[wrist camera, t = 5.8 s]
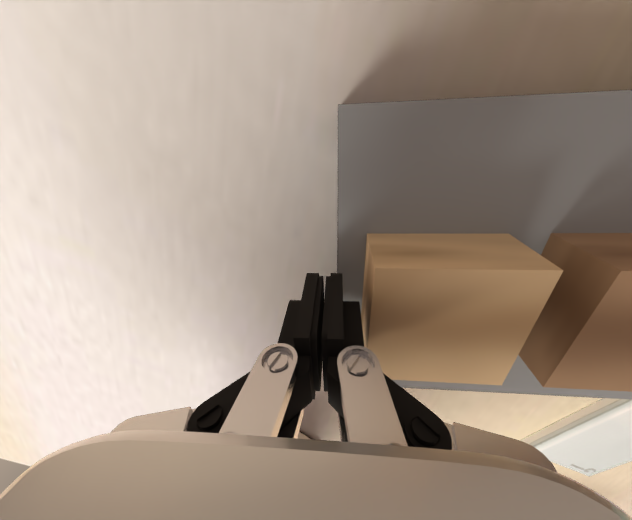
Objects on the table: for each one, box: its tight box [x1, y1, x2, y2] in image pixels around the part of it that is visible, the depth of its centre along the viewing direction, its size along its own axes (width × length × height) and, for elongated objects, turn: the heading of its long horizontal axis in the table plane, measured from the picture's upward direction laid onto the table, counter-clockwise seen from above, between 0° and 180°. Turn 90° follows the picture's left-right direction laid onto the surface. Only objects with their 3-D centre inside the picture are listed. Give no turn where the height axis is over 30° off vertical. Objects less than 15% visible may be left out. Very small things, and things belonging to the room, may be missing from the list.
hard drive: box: [521, 398, 632, 476], centre depth 21 cm, size 2×8×12 cm
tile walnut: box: [518, 233, 632, 392], centre depth 10 cm, size 6×6×3 cm
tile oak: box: [361, 233, 563, 385], centre depth 11 cm, size 6×6×3 cm
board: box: [337, 90, 632, 399], centre depth 13 cm, size 16×18×3 cm
